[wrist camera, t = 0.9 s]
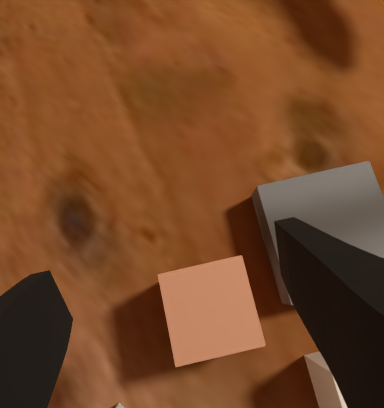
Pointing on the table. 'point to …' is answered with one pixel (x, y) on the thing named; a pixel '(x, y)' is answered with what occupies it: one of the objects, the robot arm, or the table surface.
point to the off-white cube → (323, 382)
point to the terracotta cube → (210, 311)
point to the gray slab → (324, 210)
